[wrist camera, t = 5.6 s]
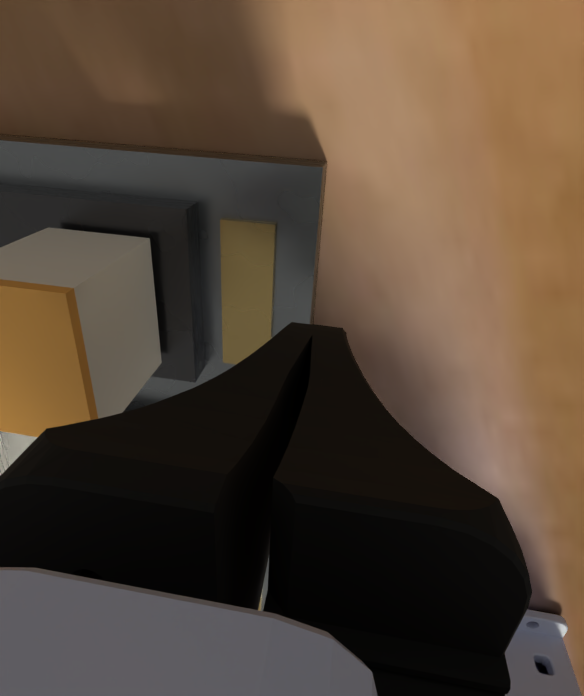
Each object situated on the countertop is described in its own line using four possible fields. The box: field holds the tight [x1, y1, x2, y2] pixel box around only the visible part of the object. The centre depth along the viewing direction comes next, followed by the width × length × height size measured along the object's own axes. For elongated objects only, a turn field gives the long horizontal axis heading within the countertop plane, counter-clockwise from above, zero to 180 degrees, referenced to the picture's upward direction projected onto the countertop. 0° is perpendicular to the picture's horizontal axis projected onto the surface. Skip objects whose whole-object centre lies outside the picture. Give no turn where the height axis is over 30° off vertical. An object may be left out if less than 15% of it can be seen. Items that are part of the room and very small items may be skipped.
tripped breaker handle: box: [0, 227, 162, 437], centre depth 12 cm, size 3×4×4 cm
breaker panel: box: [0, 134, 327, 611], centre depth 18 cm, size 18×24×6 cm
